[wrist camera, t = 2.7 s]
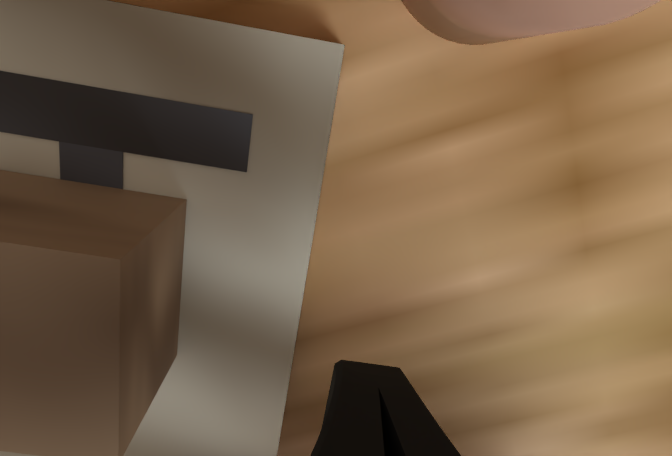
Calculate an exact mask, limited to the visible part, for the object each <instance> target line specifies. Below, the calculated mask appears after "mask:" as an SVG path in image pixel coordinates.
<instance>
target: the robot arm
mask: <svg viewBox="0 0 672 456" xmlns="http://www.w3.org/2000/svg"><path fill="white" fill-rule="evenodd" d="M311 456H461V455H460V454H459V452H458V451H457V450H456V448H455V447H454V446H453V444H452V443H451V442H450V440H449V439H448V437H447V436H446V435H445V433H444V432H443V431H442V429H441V428H440V426H439V425H438V424H437V422H436V421H435V419H434V418H433V416H432V415H431V413H430V412H429V410H428V409H427V408H426V406H425V405H424V403H423V402H422V400H421V399H420V397H419V396H418V394H417V393H416V391H415V390H414V388H413V387H412V385H411V384H410V382H409V381H408V379H407V378H406V376H405V375H404V373H403V372H402V371H401V369H400V368H398V367H390V366H383V365H376V364H368V363H361V362H353V361H346V360H340V361H339V362H337V363H335V366H334V371H333V376H332V380H331V385H330V390H329V395H328V400H327V405H326V410H325V415H324V420H323V424H322V429H321V432H320V435H319V437H318V440H317V442H316V444H315V447H314V449H313V451H312V454H311Z"/></svg>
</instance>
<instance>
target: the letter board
mask: <svg viewBox="0 0 672 456" xmlns="http://www.w3.org/2000/svg"><path fill="white" fill-rule="evenodd" d="M344 46H345V45H343V44H338V43H333V42H327V41H322V40H317V39H311V38H306V37H301V36H295V35H290V34H284V33H279V32H274V31H268V30H263V29H258V28H252V27H247V26H242V25H236V24H231V23H226V22H220V21H215V20H210V19H204V18H199V17H193V16H188V15H183V14H177V13H172V12H167V11H161V10H156V9H151V8H145V7H140V6H135V5H129V4H124V3H119V2H113V1H108V0H0V170H5V171H11V172H18V173H24V174H30V175H36V176H43V177H49V178H55V179H62V180H68V181H74V182H81V183H87V184H93V185H99V186H106V187H112V188H118V189H125V190H131V191H137V192H144V193H150V194H156V195H162V196H169V197H175V198H181V199H187V204H186V220H185V236H184V252H183V268H182V284H181V301H180V317H179V333H178V349H177V356H176V358H175V360H174V362H173V364H172V366H171V367H170V369H169V371H168V373H167V375H166V377H165V379H164V380H163V382H162V384H161V386H160V388H159V390H158V392H157V394H156V395H155V397H154V399H153V401H152V403H151V405H150V407H149V408H148V410H147V412H146V414H145V416H144V418H143V420H142V422H141V423H140V425H139V427H138V429H137V431H136V433H135V435H134V436H133V438H132V440H131V442H130V444H129V446H128V448H127V450H126V451H125V453H124V455H123V456H277V451H278V445H279V439H280V433H281V427H282V421H283V415H284V409H285V403H286V397H287V391H288V385H289V379H290V373H291V367H292V361H293V355H294V349H295V343H296V337H297V331H298V324H299V318H300V312H301V306H302V300H303V294H304V288H305V282H306V276H307V270H308V264H309V258H310V252H311V246H312V240H313V234H314V228H315V222H316V216H317V210H318V204H319V198H320V191H321V185H322V179H323V173H324V167H325V161H326V155H327V149H328V143H329V137H330V131H331V125H332V119H333V113H334V107H335V101H336V95H337V89H338V83H339V77H340V71H341V65H342V58H343V52H344ZM0 456H38V455H30V454H21V453H13V452H4V451H0Z"/></svg>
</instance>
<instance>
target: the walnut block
mask: <svg viewBox="0 0 672 456" xmlns="http://www.w3.org/2000/svg"><path fill="white" fill-rule="evenodd" d="M186 204H187V199H181V198H175V197H169V196H162V195H156V194H150V193H144V192H137V191H131V190H125V189H118V188H112V187H106V186H99V185H93V184H87V183H81V182H74V181H68V180H62V179H55V178H49V177H43V176H36V175H30V174H24V173H18V172H11V171H5V170H0V451H4V452H13V453H21V454H30V455H38V456H123V455H124V453H125V451H126V450H127V448H128V446H129V444H130V442H131V440H132V438H133V436H134V435H135V433H136V431H137V429H138V427H139V425H140V423H141V422H142V420H143V418H144V416H145V414H146V412H147V410H148V408H149V407H150V405H151V403H152V401H153V399H154V397H155V395H156V394H157V392H158V390H159V388H160V386H161V384H162V382H163V380H164V379H165V377H166V375H167V373H168V371H169V369H170V367H171V366H172V364H173V362H174V360H175V358H176V356H177V349H178V333H179V317H180V301H181V284H182V268H183V252H184V236H185V220H186Z"/></svg>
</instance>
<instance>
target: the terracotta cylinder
mask: <svg viewBox="0 0 672 456" xmlns="http://www.w3.org/2000/svg"><path fill="white" fill-rule="evenodd" d="M658 1H660V0H402V2H403V3H404V5H405V6H406V8H407V9H408V11H409V12H410V13H411V14H412V16H413V17H414V18H415V19H416V20H417V21H418V22H419V23H420V24H421V25H423V26H424V27H425V28H426V29H427V30H429V31H431V32H432V33H434V34H435V35H437V36H439V37H441V38H444V39H446V40H448V41H452V42H456V43H460V44H468V45H483V44H489V43H496V42H502V41H508V40H514V39H520V38H526V37H532V36H538V35H545V34H551V33H557V32H563V31H569V30H575V29H581V28H587V27H593V26H599V25H605V24H608V23H612V22H615V21H618V20H621V19H625V18H627V17H629V16H632V15H634V14H636V13H638V12H640V11H643V10H645V9H647V8H648V7H650V6H652V5H653V4H655V3H657V2H658Z"/></svg>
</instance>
